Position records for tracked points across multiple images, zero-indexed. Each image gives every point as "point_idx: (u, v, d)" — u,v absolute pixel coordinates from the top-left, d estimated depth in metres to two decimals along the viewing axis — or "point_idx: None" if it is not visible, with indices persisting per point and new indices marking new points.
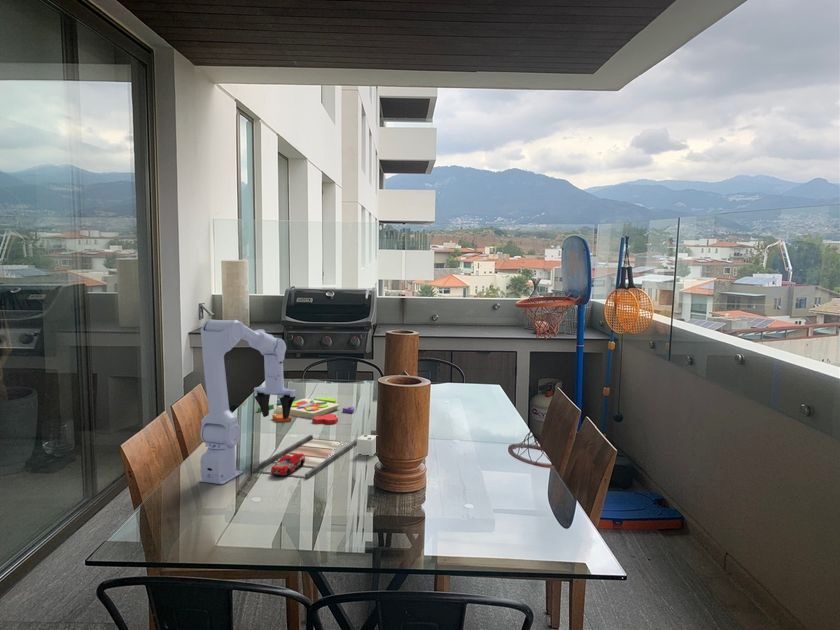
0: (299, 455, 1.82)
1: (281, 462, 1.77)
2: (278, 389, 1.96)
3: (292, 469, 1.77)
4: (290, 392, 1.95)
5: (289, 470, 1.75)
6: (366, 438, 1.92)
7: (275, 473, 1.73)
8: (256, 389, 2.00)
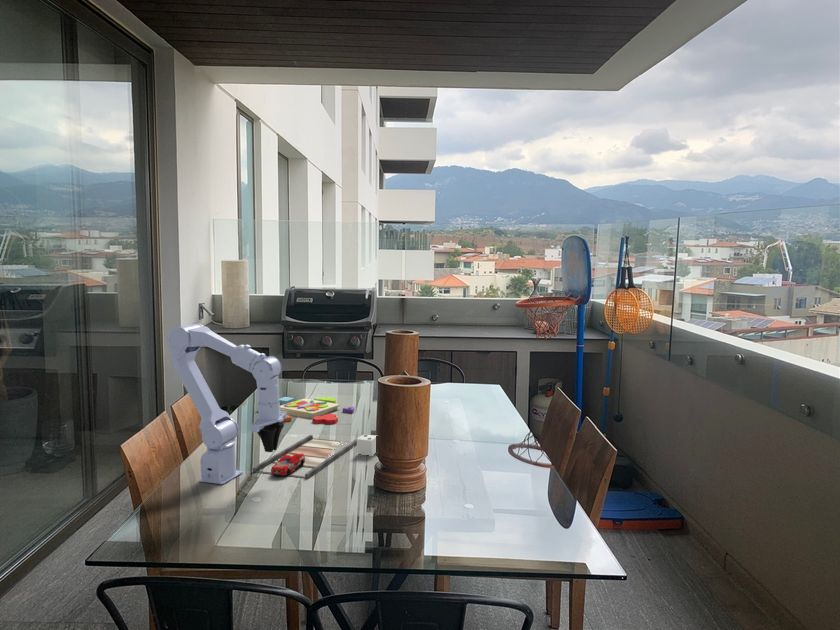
0: (299, 455, 1.82)
1: (281, 462, 1.77)
2: (259, 418, 1.68)
3: (292, 469, 1.77)
4: None
5: (289, 470, 1.75)
6: (366, 438, 1.92)
7: (275, 473, 1.73)
8: None
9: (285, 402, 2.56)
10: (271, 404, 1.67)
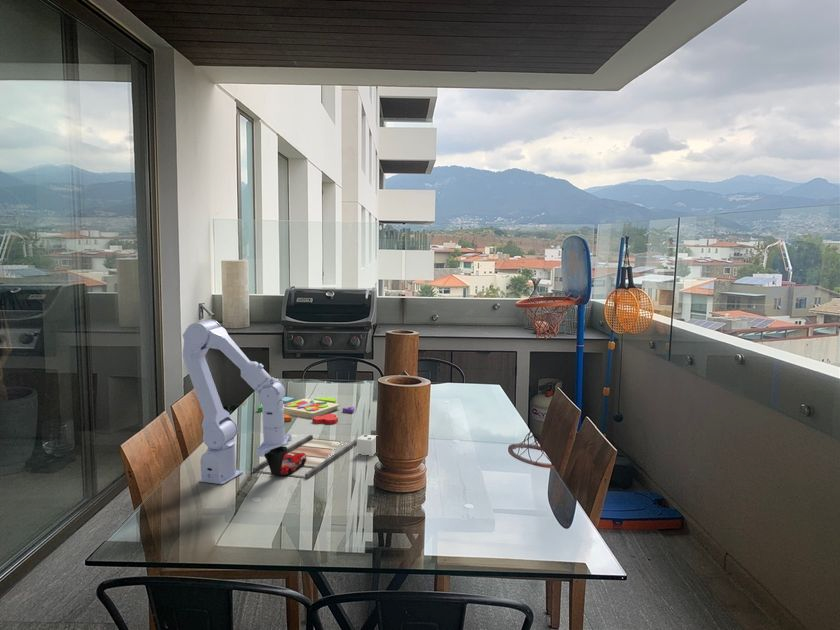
0: (300, 454, 1.82)
1: None
2: (264, 442, 1.71)
3: (293, 468, 1.77)
4: None
5: (290, 469, 1.76)
6: (366, 438, 1.92)
7: None
8: None
9: (285, 402, 2.56)
10: (276, 428, 1.69)
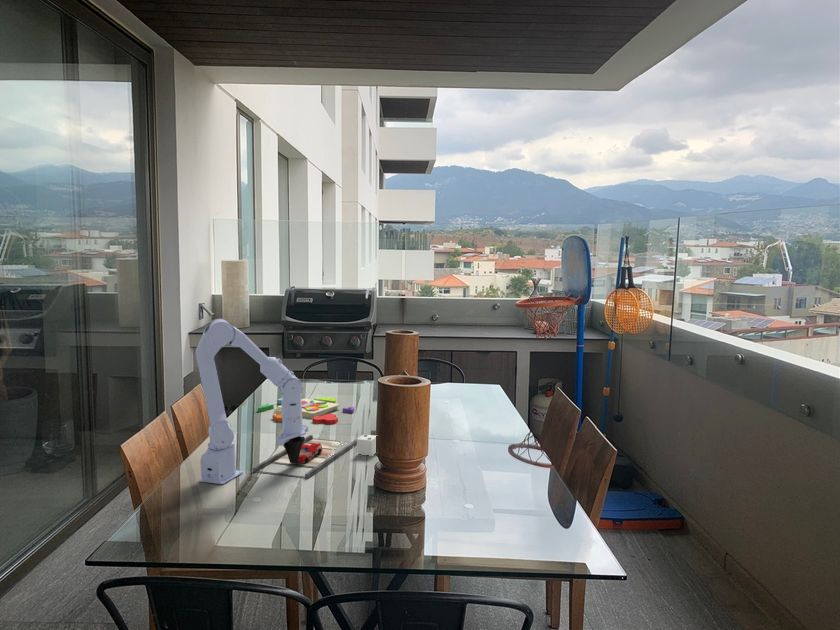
0: (316, 444, 1.91)
1: None
2: (283, 432, 1.80)
3: (310, 457, 1.86)
4: None
5: (307, 458, 1.85)
6: (366, 438, 1.92)
7: None
8: None
9: None
10: (295, 419, 1.79)
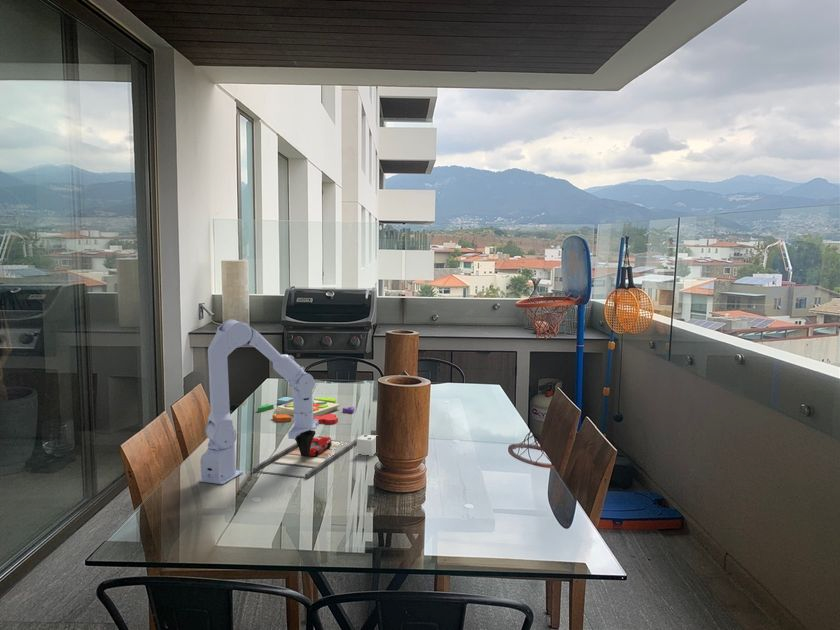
0: (326, 438, 1.97)
1: None
2: (295, 426, 1.86)
3: (320, 451, 1.93)
4: None
5: (317, 451, 1.91)
6: (366, 438, 1.92)
7: None
8: None
9: (285, 402, 2.56)
10: (306, 413, 1.85)
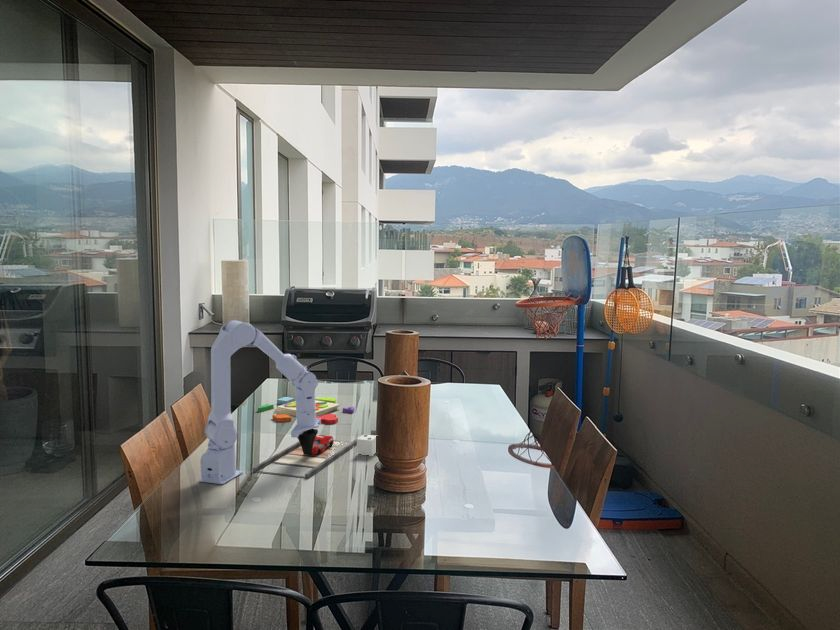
0: (328, 437, 1.99)
1: None
2: (297, 425, 1.87)
3: (322, 449, 1.94)
4: None
5: (319, 450, 1.92)
6: (366, 438, 1.92)
7: None
8: None
9: (285, 402, 2.56)
10: (308, 412, 1.86)
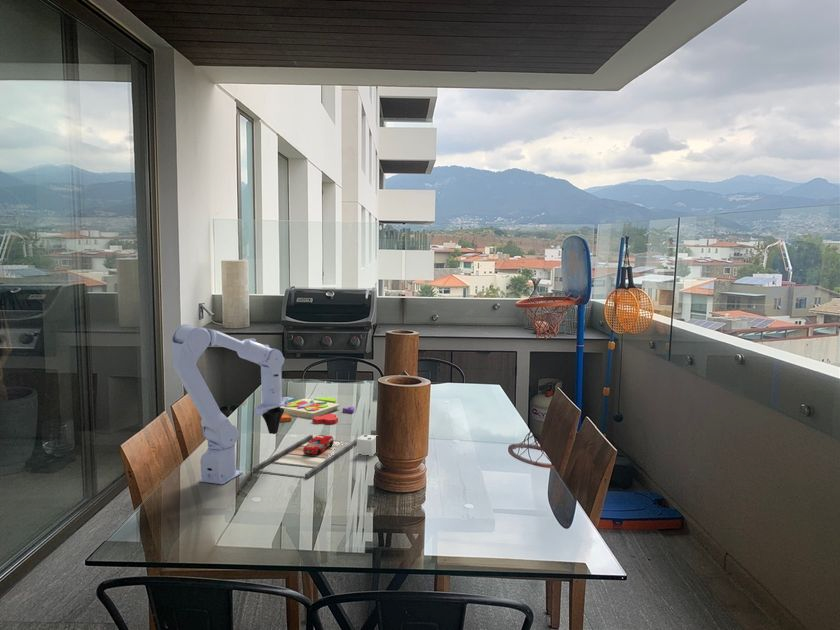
0: (328, 437, 1.99)
1: (312, 443, 1.94)
2: (263, 403, 1.84)
3: (322, 449, 1.94)
4: None
5: (319, 450, 1.92)
6: (366, 438, 1.92)
7: (307, 452, 1.91)
8: None
9: None
10: (273, 390, 1.82)
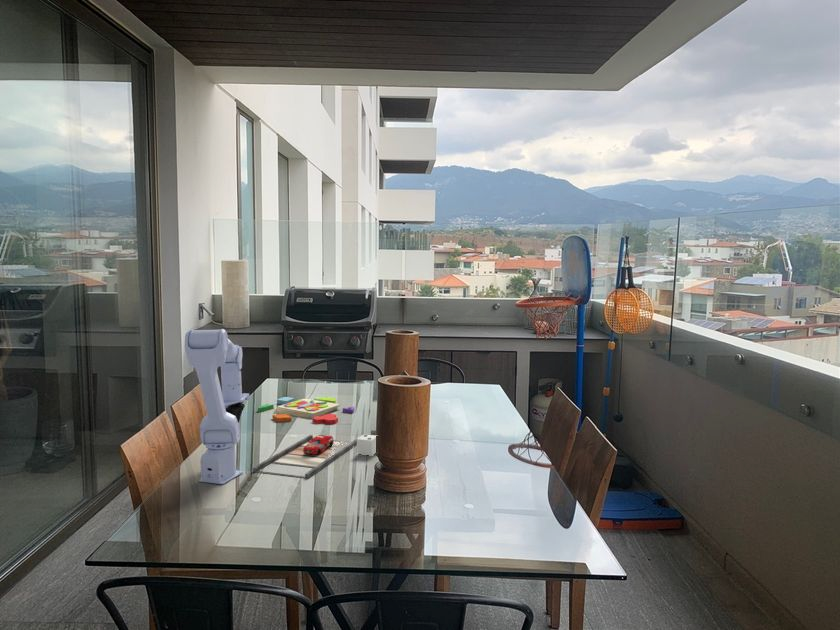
0: (328, 437, 1.99)
1: (312, 443, 1.94)
2: (223, 399, 1.87)
3: (322, 449, 1.94)
4: None
5: (319, 450, 1.92)
6: (366, 438, 1.92)
7: (307, 452, 1.91)
8: None
9: (285, 402, 2.56)
10: (233, 386, 1.86)
